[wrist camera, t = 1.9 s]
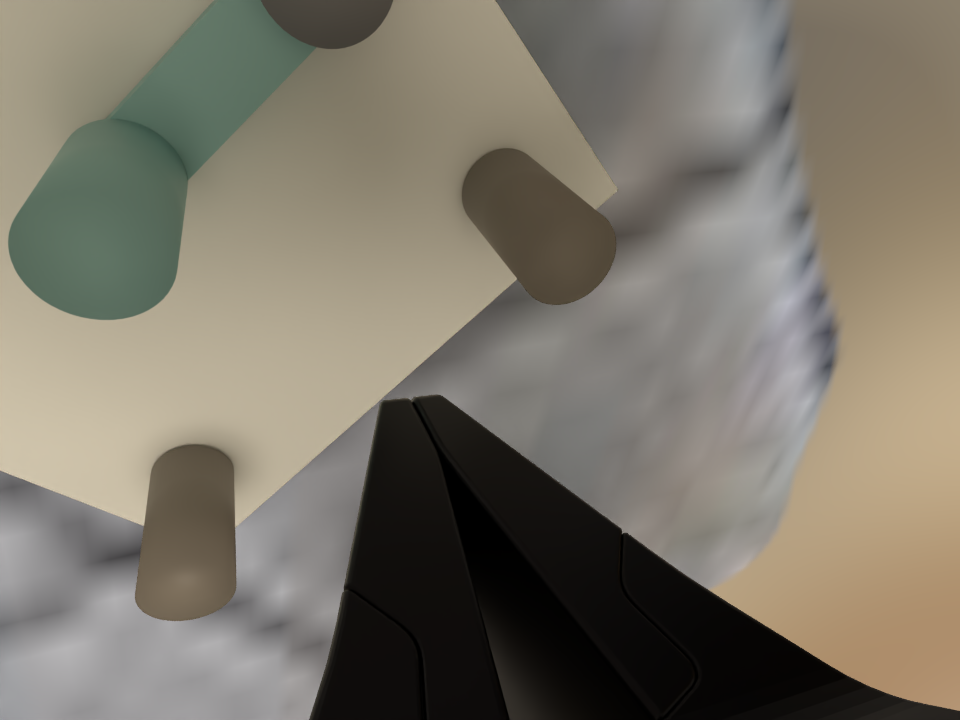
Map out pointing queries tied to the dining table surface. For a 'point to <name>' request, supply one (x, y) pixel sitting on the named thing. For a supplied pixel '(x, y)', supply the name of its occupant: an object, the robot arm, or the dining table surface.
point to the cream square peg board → (279, 261)
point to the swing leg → (163, 153)
